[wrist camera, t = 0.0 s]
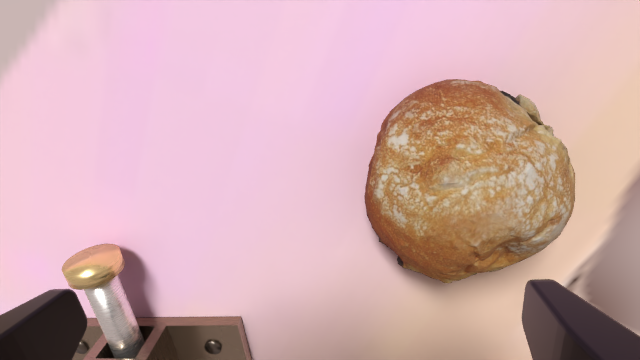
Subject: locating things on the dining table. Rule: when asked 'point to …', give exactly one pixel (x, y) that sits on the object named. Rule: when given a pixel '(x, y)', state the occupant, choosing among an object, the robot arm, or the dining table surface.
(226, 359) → the hinge
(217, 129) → the dining table surface
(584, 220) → the dining table surface
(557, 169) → the bread roll
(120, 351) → the pin
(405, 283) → the dining table surface
